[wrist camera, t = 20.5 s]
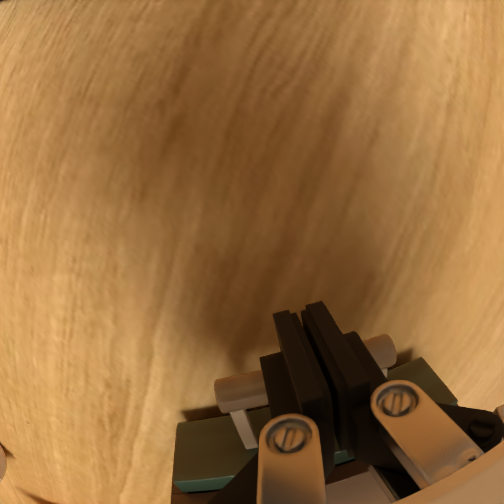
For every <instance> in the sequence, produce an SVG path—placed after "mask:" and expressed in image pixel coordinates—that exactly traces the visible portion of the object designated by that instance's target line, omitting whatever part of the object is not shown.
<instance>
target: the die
mask: <svg viewBox="0 0 504 504" xmlns="http://www.w3.org/2000/svg"><path fill="white" fill-rule="evenodd" d="M6 468H7V462H6V456H5V453H4V450H3V448H2V446H1V445H0V482H1V480H2V479H3V477H4V475H5V472H6Z"/></svg>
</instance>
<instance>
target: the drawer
mask: <svg viewBox="0 0 504 504" xmlns="http://www.w3.org/2000/svg"><path fill="white" fill-rule="evenodd" d="M363 343H364V344H365V346H366V347H367V349H368V350H369V352H370V353H371V355H372V357H373V358H374V360H375V361H376V363H377V364H378V366H379V367H380V369H381V370H382V372H383V373H384V375H385V376H386V378H387V380H388V381H393V380H407V381H410V382H412V383H414V384H416V385H417V386H419V387H420V388H421V389H422V390H423V391H424V392H425V393H426V394H427V395H428V396H429V397H430V398H431V399H432V400H433V401H434V402H437V403H442V404H448V405H454V406H456V405H457V402H458V400H457V399H456V397H455V396H454V395H453V394H452V392H451V391H450V390H449V389H448V388H447V386H446V385H445V384H444V383H443V382H442V380H441V379H440V378H439V377H438V376H437V374H436V373H435V372H434V371H433V370H432V368H431V367H430V366H429V365H428V364H427V363H426V361H425V360H424V359H423V358H422V357H420V358H418V359H415V360H413V361H410V362H408V363H406V364H403V365H401V366H398V367H396V368H393V369H391V370H388V371H387V368H389V367H391V366H393V365H394V364H395V363H396V358H397V357H396V350H395V346H394V344H393V341H392V339H391V338H390V336H389V335H387V334H382V335H379V336H376V337H373V338H370V339H367V340H364V341H363ZM214 390H215V396H216V400H217V404H218V406H219V409H220V410H221V412H222V413H230V415H227V416H222V417H216V418H210V419H204V420H197V421H190V422H183V423H178V428H177V438H176V450H175V462H174V475H173V482H174V484H175V485H176V486H177V487H178V488H179V489H180V490H181V491H182V492H195V491H207V490H208V492H215V491H220V490H221V489H222V488H223V487H224V486H225V485H226V484H227V483H228V482H229V481H230V480H231V479H232V478H233V477H234V476H235V475H236V474H237V473H238V472H239V471H240V470H241V469H242V468H243V467H244V466H245V465H246V464H247V463H248V462H249V461H250V460H251V459H252V458H253V457H254V456H255V454H256V453H257V452H258V451H259V437H260V433H261V431H262V429H263V428H264V426H265V425H266V424H267V423H268V422H269V421H271V420H272V418H271V413H270V408H269V407H266V408H262V409H257V410H253V411H248V412H247V410H246V409H249V408H254V407H259V406H263V405H267V404H269V403H268V398H267V393H266V388H265V383H264V378H263V373H262V370H259V371H254V372H250V373H245V374H241V375H236V376H231V377H227V378H222V379H217V380H215V383H214ZM335 449H336V453H334V464H335V467H336V466H339V465H342V464H345V463H348V462H351V461H354V460H356V459H355V456H354V457H351V458H349V455H348V453H347V450H344V451H340V449H339V447H338V444H337V442H336V439H335Z"/></svg>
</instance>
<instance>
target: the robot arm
mask: <svg viewBox="0 0 504 504" xmlns="http://www.w3.org/2000/svg"><path fill="white" fill-rule="evenodd" d="M301 318H302V324H303V327H302V324H301V322H300V320H299V318H298V315H297V313H296V312H295V313H291V314H290V311H289V310H285V311H282V312H278V313H274V314H273V319H274V323H275V327H276V332H277V336H278V341H279V345H280V349H281V352H279V353H275V354H271V355H267V356H263V357H260V363H261V368H262V373H263V378H264V383H265V388H266V393H267V398H268V403H269V408H270V413H271V418H272V420H271V421H269V422H268V423H267V424H266V425H265V426H264V428H263V429H262V431H261V433H260V437H259V451H258V452H257V453H256V454H255V456H254V457H253V458H252V459H251V460H250V461H249V462H248V463H247V464H246V465H245V466H244V467H243V468H242V469H241V470H240V471H239V472H238V473H237V474H236V475H235V476H234V477H233V478H232V479H231V480H230V481H229V482H228V483H227V484H226V485H225V486H224V487H223V488H222V489H221V490H220V491H219V492H218V493H217V494H216V495H215V496H214V497H213V498H212V499H211V500H210V501H209V502H208V503H207V504H327V494H326V485H325V480H326V478H327V477H328V476H329V474H330V473H331V471H332V470H333V468H334V467H335V464H334V453H336V449H335V439H336V442H337V444H338V447H339V449H340V451H344V450H347V453H348V455H349V458H351V457H354V456H355V459H356V460H358V461H361V462H364V463H366V465H367V468H368V469H369V471H370V472H371V474H372V475H373V477H374V479H375V480H376V482H377V483H378V484H379V486H380V487H381V489H382V490H383V492H384V493H385V495H386V496H387V498H388V499H389V501H390V502H391V504H504V405H501V406H499V407H496V409H495V411H494V412H490V411H486V410H480V409H473V408H466V407H460V406H454V405H448V404H442V403H437V402H434V401H433V400H432V399H431V398H430V397H429V396H428V395H427V394H426V393H425V392H424V391H423V390H422V389H421V388H420V387H419V386H417V385H416V384H414V383H412V382H410V381H407V380H393V381H388V380H387V378H386V376H385V375H384V373H383V372H382V370H381V369H380V367H379V366H378V364H377V363H376V361H375V360H374V358H373V357H372V355H371V353H370V352H369V350H368V349H367V347H366V346H365V344H364V343H363V341H362V340H361V338H360V337H359V335H358V334H357V333H356V332H355V331H352V332H349V333H346V334H342V332H341V331H340V329H339V327H338V326H337V324H336V322H335V321H334V319H333V318H332V316H331V314H330V313H329V311H328V309H327V308H326V306H325V305H324V303H323V302H322V301H319V302H316V303H312V304H308V305H306V310H303V311H301Z"/></svg>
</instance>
